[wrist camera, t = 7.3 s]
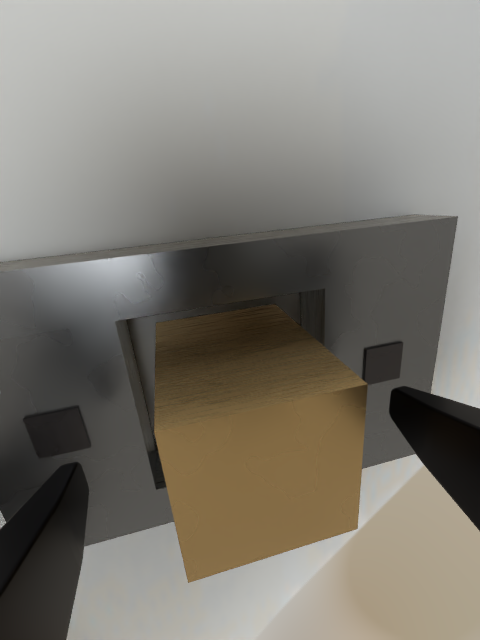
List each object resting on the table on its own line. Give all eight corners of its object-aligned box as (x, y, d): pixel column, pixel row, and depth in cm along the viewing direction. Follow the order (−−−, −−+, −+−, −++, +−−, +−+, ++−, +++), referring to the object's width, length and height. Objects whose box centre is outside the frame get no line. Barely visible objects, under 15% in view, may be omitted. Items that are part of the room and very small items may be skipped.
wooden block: (279, 401, 14) (357, 529, 8) (175, 423, 13) (188, 582, 8) (274, 303, 12) (367, 383, 7) (155, 322, 11) (154, 432, 6)
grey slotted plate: (391, 423, 16) (422, 453, 14) (45, 511, 13) (25, 565, 11) (413, 214, 12) (460, 216, 10) (-60, 269, 9) (-116, 286, 7)
